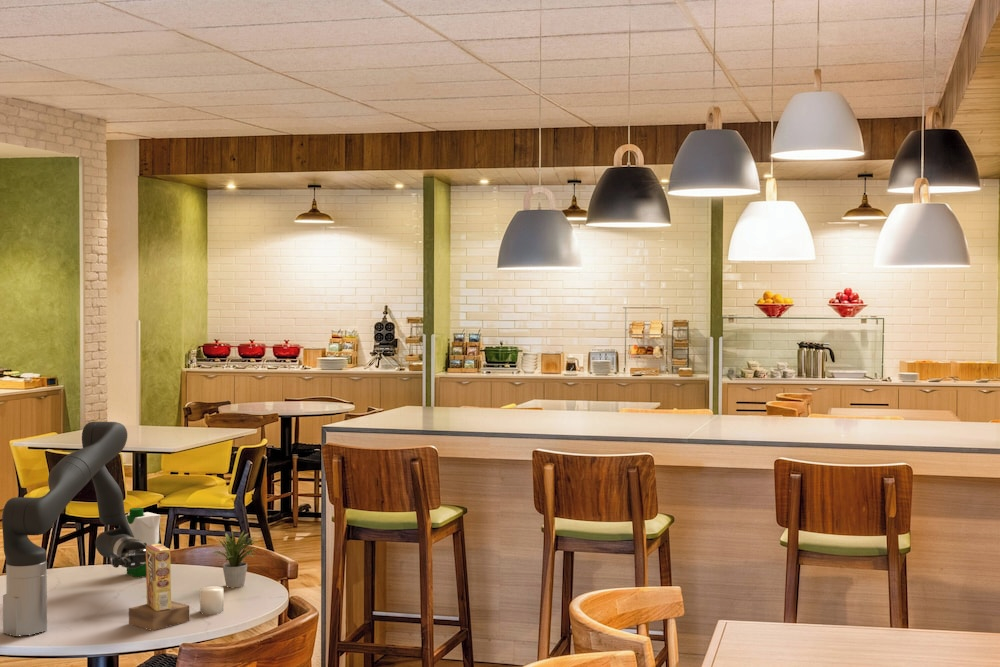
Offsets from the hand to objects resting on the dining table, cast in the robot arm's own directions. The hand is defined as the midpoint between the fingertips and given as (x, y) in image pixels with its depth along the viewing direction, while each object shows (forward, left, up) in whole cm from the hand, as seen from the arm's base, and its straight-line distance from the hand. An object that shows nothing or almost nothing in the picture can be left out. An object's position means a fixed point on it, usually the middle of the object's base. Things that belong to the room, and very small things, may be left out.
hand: (146, 563), depth 298 cm
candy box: (-4, -11, -9) cm, 15 cm away
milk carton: (+26, +38, -13) cm, 48 cm away
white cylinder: (+11, -13, -13) cm, 21 cm away
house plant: (+32, +3, -13) cm, 35 cm away
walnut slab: (-4, -11, -13) cm, 17 cm away
